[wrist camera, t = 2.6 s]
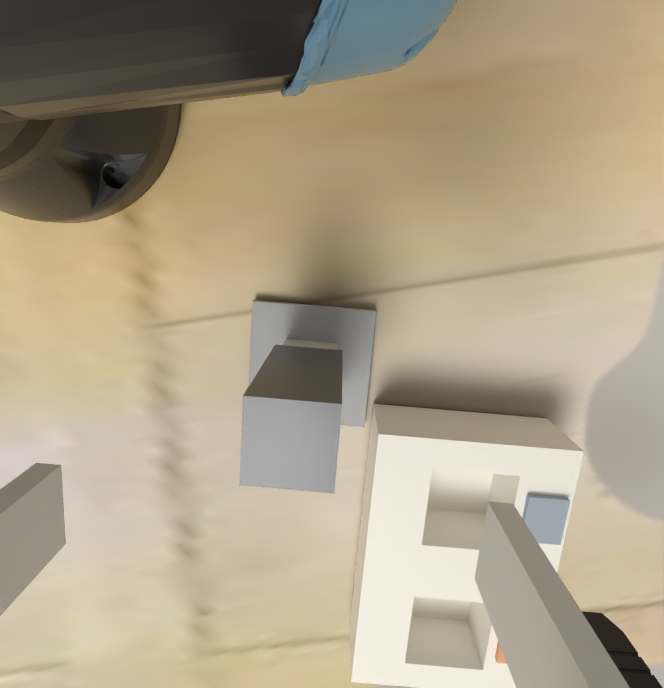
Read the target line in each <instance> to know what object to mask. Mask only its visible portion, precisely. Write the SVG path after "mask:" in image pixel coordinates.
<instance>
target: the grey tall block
mask: <svg viewBox="0 0 664 688" xmlns="http://www.w3.org/2000/svg"><path fill="white" fill-rule="evenodd" d="M337 345H338V343H329V342H317V341H305V340H293V339H286V340H285V342H284V343H283V345H275V346H274V347H273V349H272V350H271V352H270V354H269V355H268V357H267V358H266V360H265V362H264V363H263V365H262V366H261V368H260V370H259V371H258V373H257V374H256V376H255V378H254V379H253V381H252V382H251V384H250V386H249V387H248V389H247V390H246V392H245V394H244V395H243V411H242V437H241V464H240V485H242V486H254V487H266V488H278V489H289V490H301V491H313V492H325V493H334V489H335V477H336V466H337V455H338V444H339V433H340V422H341V411H342V350H337Z"/></svg>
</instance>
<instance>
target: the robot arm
mask: <svg viewBox="0 0 664 688" xmlns="http://www.w3.org/2000/svg"><path fill="white" fill-rule="evenodd" d="M456 1H457V0H0V211H3V212H6V213H8V214H11V215H14V216H18V217H22V218H25V219H30V220H35V221H43V222H61V223H80V222H89V221H94V220H98V219H102V218H105V217H108V216H110V215H113V214H115V213H117V212H119V211H121V210H123V209H125V208H126V207H128V206H129V205H131V204H132V203H134V202H135V201H136V200H137V199H139V198H140V197H141V196H142V195H143V194H144V193H145V192H146V191H147V190H148V189H149V188H150V187H151V186H152V185H153V183H154V182H155V181H156V179H157V178H158V177H159V175H160V173H161V172H162V170H163V169H164V167H165V165H166V163H167V161H168V159H169V156H170V154H171V151H172V148H173V146H174V143H175V139H176V135H177V130H178V124H179V116H180V103H187V102H195V101H204V100H212V99H220V98H228V97H237V96H245V95H253V94H262V93H270V92H278V91H281V93H282V95H283V97H286V96H296V95H298V94H300V93H302V92H304V90H305V89H306V88H307V87H308V86H309V85H315V84H320V83H326V82H331V81H337V80H342V79H348V78H353V77H359V76H364V75H370V74H375V73H381V72H386V71H390V70H392V69H395V68H397V67H399V66H402V65H404V64H405V63H407V62H408V61H410V60H411V59H413V58H414V57H415V56H416V55H417V54H418V53H419V52H420V51H421V50H422V49H423V48H424V47H425V46H426V45H427V44H428V42H429V41H430V40H431V39H432V38H433V37H434V36H435V34H436V32H437V31H438V29H439V27H440V25H441V24H442V23H443V22H444V21H445V19H446V18H447V16H448V14H449V13H450V11H451V10H452V9H453V7H454V5H455V3H456ZM65 544H66V541H65V524H64V506H63V489H62V472H61V465H54V464H42V463H36V464H34V465H33V466H32V467H30V468H29V469H28V470H26V471H25V472H23V473H22V474H21V475H19V476H18V477H17V478H15V479H14V480H13V481H11V482H10V483H9V484H7V485H6V486H5V487H3V488H2V489H0V616H1V614H2V613H3V612H4V611H5V610H6V609H7V608H8V607H9V606H10V605H11V603H12V602H13V601H14V600H15V599H16V598H17V597H18V596H19V595H20V593H21V592H22V591H23V590H24V589H25V588H26V587H27V586H28V585H29V584H30V582H31V581H32V580H33V579H34V578H35V577H36V576H37V575H38V574H39V572H40V571H41V570H42V569H43V568H44V567H45V566H46V565H47V564H48V562H49V561H50V560H51V559H52V558H53V557H54V556H55V555H56V554H57V553H58V551H59V550H60V549H61V548H62V547H63V546H64V545H65ZM474 579H475V581H476V584H477V587H478V589H479V592H480V594H481V597H482V600H483V602H484V605H485V607H486V610H487V613H488V615H489V618H490V621H491V623H492V626H493V628H494V631H495V634H496V636H497V639H498V641H499V644H500V647H501V649H502V652H503V654H504V657H505V660H506V662H507V665H508V668H509V670H510V673H511V675H512V678H513V681H514V683H515V686H516V688H662V686H661V685H660V684H659V682H658V681H657V679H656V678H655V676H654V675H651V673H650V669H649V668H648V667H647V665H646V664H645V662H644V661H643V659H642V658H641V657H639V656H638V652H637V651H636V650H635V648H634V647H633V645H632V644H631V642H630V641H629V640H628V638H627V637H626V635H625V634H624V633H623V631H621V630H620V629H619V628H618V627H617V626H616V625H615V624H613V623H612V622H611V621H610V620H609V619H608V618H607V617H605V616H604V615H603V614H602V613H594V612H582V611H581V610H580V608H579V607H578V605H577V604H576V602H575V600H574V599H573V597H572V596H571V594H570V593H569V591H568V589H567V588H566V586H565V585H564V583H563V582H562V580H561V578H560V577H559V575H558V574H557V572H556V571H555V569H554V567H553V566H552V564H551V563H550V561H549V559H548V558H547V556H546V555H545V553H544V552H543V550H542V548H541V547H540V545H539V544H538V542H537V541H536V539H535V537H534V536H533V534H532V533H531V531H530V530H529V528H528V526H527V525H526V523H525V522H524V520H523V519H522V517H521V515H520V514H519V512H518V511H517V509H516V508H515V506H514V504H513V503H501V502H489V501H488V504H487V509H486V515H485V521H484V527H483V532H482V538H481V544H480V550H479V555H478V561H477V567H476V572H475V578H474Z"/></svg>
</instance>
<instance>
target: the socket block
mask: <svg viewBox="0 0 664 688" xmlns="http://www.w3.org/2000/svg"><path fill="white" fill-rule="evenodd" d="M583 454H584V451H583V450H582V449H581V448H580V447H579V446H577V445H576V444H575V443H574V442H573V441H572V440H571V439H570V438H568V437H567V436H566V435H565V434H564V433H563V432H562V431H561V430H560V429H558V428H557V427H556V426H555V425H554V424H553V423H552V422H551V421H550V420H548V419H547V418H536V417H524V416H512V415H500V414H488V413H476V412H465V411H453V410H441V409H429V408H417V407H405V406H393V405H381V404H373V410H372V420H371V429H370V439H369V448H368V457H367V467H366V476H365V486H364V495H363V504H362V514H361V523H360V532H359V542H358V551H357V561H356V570H355V579H354V589H353V598H352V608H351V617H350V650H351V682H359V683H370V684H382V685H393V686H405V687H416V688H516V686H515V683H514V681H513V678H512V675H511V673H510V670H509V668H508V665H507V662H506V660H505V657H504V654H503V652H502V649H501V647H500V644H499V641H498V639H497V636H496V634H495V631H494V628H493V626H492V623H491V621H490V618H489V615H488V613H487V610H486V607H485V605H484V602H483V600H482V597H481V594H480V592H479V589H478V587H477V584H476V581H475V579H474V578H475V572H476V567H477V561H478V555H479V550H480V544H481V538H482V532H483V527H484V521H485V515H486V509H487V504H488V501H489V502H501V503H513V504H514V506H515V508H516V509H517V511H518V512H519V514H520V515H521V517H522V519H523V520H524V522H525V523H526V525H527V526H528V528H529V530H530V531H531V533H532V534H533V536H534V537H535V539H536V541H537V542H538V544H539V545H540V547H541V548H542V550H543V552H544V553H545V555H546V556H547V558H548V559H549V561H550V563H551V564H552V566H553V567H554V569H555V571H556V572H557V570H558V566H559V561H560V557H561V552H562V548H563V543H564V539H565V535H566V530H567V526H568V521H569V517H570V512H571V508H572V503H573V499H574V494H575V490H576V485H577V481H578V476H579V472H580V467H581V463H582V458H583Z"/></svg>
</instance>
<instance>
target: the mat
mask: <svg viewBox="0 0 664 688" xmlns="http://www.w3.org/2000/svg"><path fill="white" fill-rule="evenodd" d="M375 318H376V310H369V309H357V308H345V307H333V306H320V305H308V304H296V303H284V302H272V301H260V300H254V301H252V325H251V349H250V374H249V386H250V384H251V382H252V381H253V379H254V378H255V376H256V374H257V373H258V371H259V370H260V368H261V366H262V365H263V363H264V362H265V360H266V358H267V357H268V355H269V354H270V352H271V350H272V349H273V347H274V346H275V345H283V343H284V342H285V340H286V339H293V340H305V341H317V342H329V343H338V345H337V350H342V411H341V422H340V425H347V426H359V427H364V425H365V415H366V405H367V396H368V386H369V376H370V366H371V357H372V347H373V337H374V328H375Z"/></svg>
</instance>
